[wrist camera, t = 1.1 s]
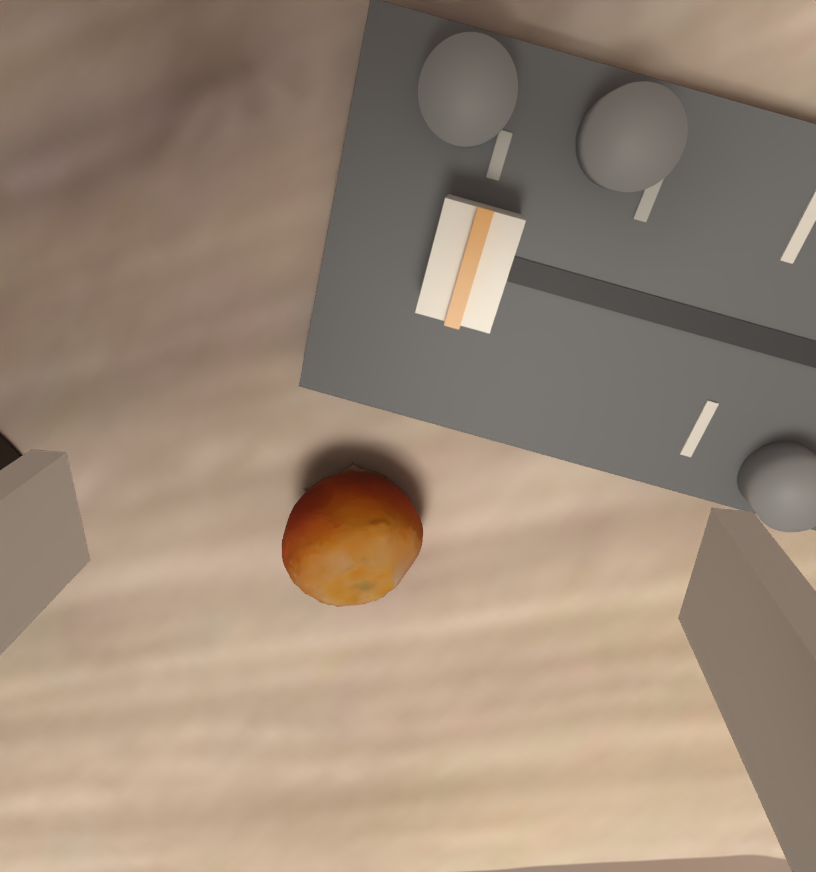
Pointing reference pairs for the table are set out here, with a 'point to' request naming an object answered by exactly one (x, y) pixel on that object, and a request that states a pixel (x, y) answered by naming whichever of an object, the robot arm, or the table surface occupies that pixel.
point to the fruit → (351, 538)
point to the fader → (469, 263)
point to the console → (580, 265)
